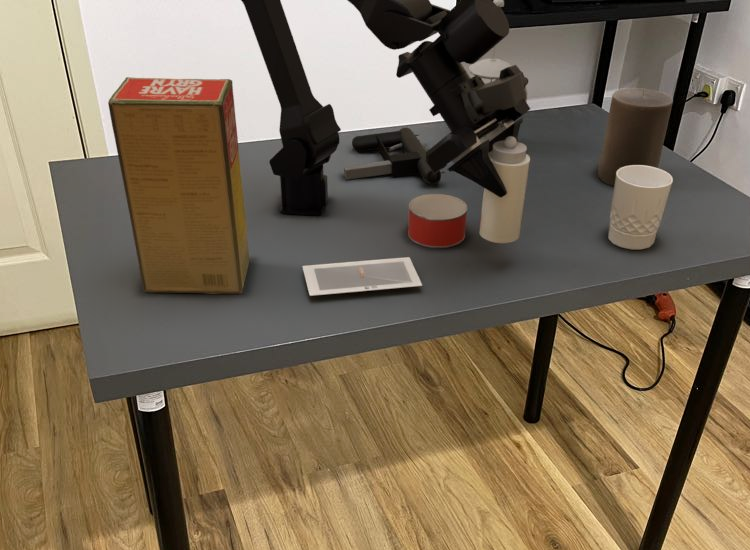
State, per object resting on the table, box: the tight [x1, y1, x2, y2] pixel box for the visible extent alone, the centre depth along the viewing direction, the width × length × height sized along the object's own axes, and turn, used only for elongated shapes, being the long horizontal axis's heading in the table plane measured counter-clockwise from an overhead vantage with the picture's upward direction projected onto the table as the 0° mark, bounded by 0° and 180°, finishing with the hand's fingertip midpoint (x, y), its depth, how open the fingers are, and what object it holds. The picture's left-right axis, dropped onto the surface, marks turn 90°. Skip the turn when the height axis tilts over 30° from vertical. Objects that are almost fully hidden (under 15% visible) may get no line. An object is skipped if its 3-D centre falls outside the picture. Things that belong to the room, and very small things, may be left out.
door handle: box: [343, 127, 446, 185], centre depth 142 cm, size 3×20×16 cm
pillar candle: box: [597, 87, 674, 187], centre depth 137 cm, size 10×10×15 cm
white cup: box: [607, 165, 674, 251], centre depth 121 cm, size 8×8×10 cm
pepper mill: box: [478, 136, 531, 244], centre depth 110 cm, size 6×6×14 cm
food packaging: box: [107, 77, 251, 295], centre depth 105 cm, size 13×9×25 cm
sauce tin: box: [407, 193, 468, 249], centre depth 122 cm, size 8×8×5 cm
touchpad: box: [301, 256, 423, 297], centre depth 111 cm, size 8×15×2 cm, turn 102°
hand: (514, 188), depth 110 cm, fingers closed on pepper mill, 5 cm apart
